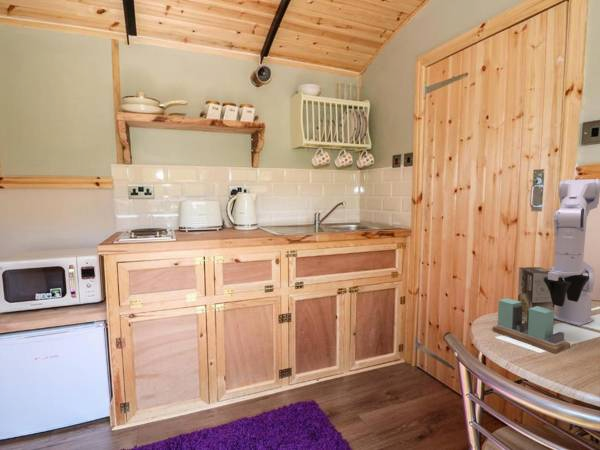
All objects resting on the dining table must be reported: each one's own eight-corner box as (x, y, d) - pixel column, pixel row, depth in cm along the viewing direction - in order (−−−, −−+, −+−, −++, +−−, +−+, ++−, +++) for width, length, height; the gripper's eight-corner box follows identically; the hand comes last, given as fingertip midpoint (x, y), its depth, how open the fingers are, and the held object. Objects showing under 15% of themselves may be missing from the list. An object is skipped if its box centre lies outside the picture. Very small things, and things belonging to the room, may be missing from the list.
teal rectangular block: (552, 336, 89) (554, 310, 88) (544, 339, 87) (545, 313, 86) (533, 330, 93) (535, 305, 92) (525, 333, 91) (526, 307, 90)
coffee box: (554, 327, 99) (557, 273, 98) (530, 326, 100) (533, 273, 99) (538, 316, 108) (540, 266, 107) (516, 315, 109) (518, 266, 108)
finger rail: (507, 326, 101) (508, 296, 100) (569, 347, 86) (571, 313, 86) (492, 330, 97) (493, 300, 97) (555, 353, 83) (556, 318, 82)
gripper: (565, 248, 96) (562, 295, 98) (536, 253, 90) (534, 303, 91) (595, 252, 90) (592, 301, 91) (566, 257, 84) (564, 311, 85)
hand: (565, 303), depth 91 cm, fingers open, 7 cm apart
